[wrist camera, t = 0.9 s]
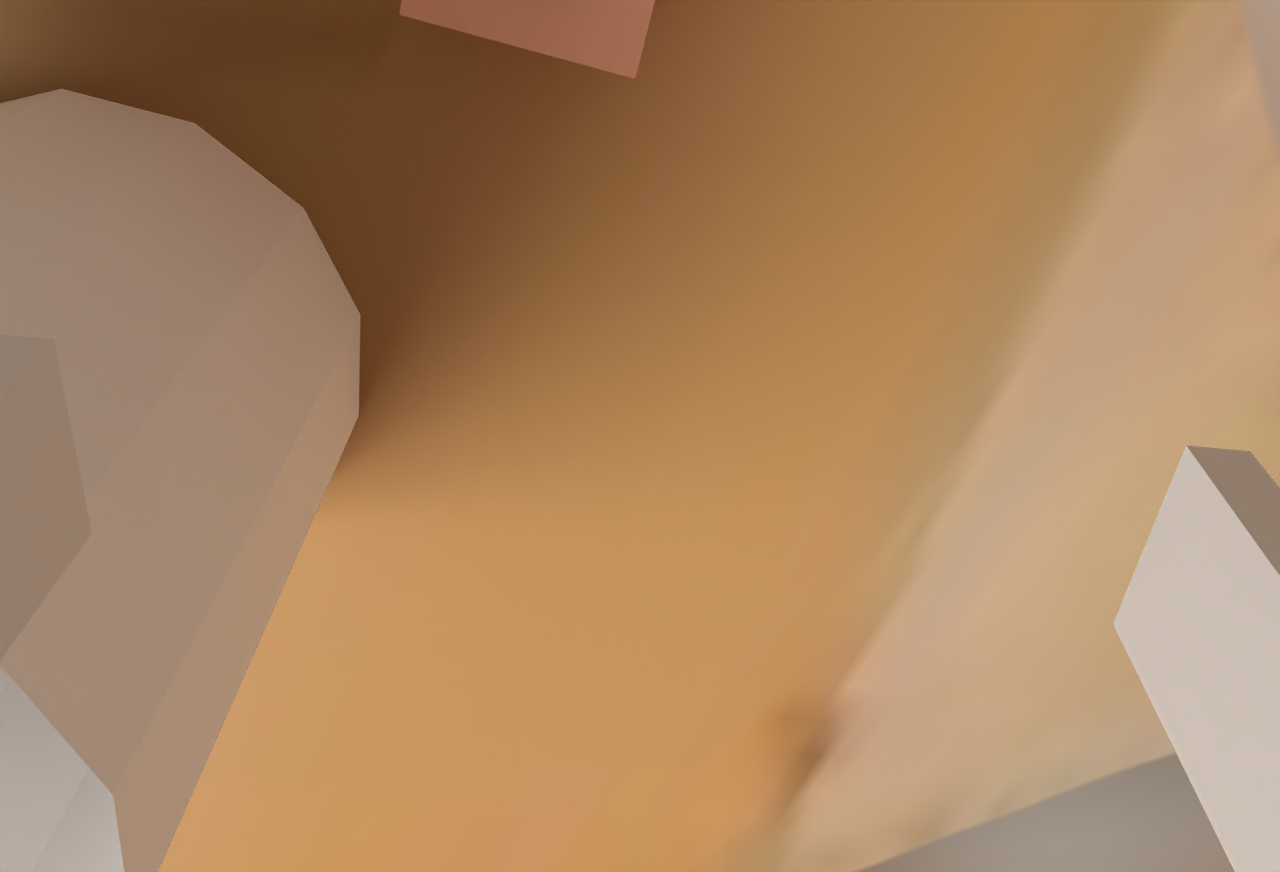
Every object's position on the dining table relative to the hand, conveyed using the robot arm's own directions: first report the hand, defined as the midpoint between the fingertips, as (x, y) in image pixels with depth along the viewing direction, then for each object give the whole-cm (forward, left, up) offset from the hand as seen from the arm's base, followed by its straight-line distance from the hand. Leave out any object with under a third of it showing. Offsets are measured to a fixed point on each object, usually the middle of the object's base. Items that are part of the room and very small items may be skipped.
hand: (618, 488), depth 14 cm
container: (-13, -11, -19) cm, 26 cm away
